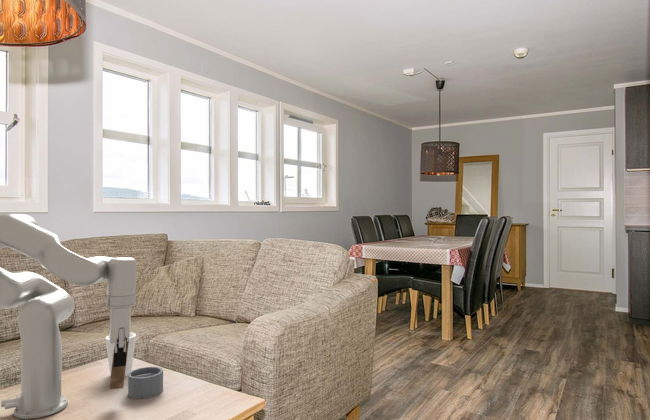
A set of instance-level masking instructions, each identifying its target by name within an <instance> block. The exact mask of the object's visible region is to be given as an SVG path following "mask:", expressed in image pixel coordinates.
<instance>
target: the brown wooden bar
mask: <svg viewBox="0 0 650 420" xmlns="http://www.w3.org/2000/svg"><path fill="white" fill-rule="evenodd" d="M117 341H119V340H117ZM128 344H129V341H128V342H126V361H127V353H128ZM117 345H119V344H117ZM114 353H115V345H114ZM114 353H113V361H112V369H111V374H110V379H109V384H108V385H109V388H108V389H109V390H116V389H119V390H120V389H124V384H125V377H126V376H125V369H126V365H125V366H120V367H114V366H113V365H114Z"/></svg>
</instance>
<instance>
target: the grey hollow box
mask: <svg viewBox="0 0 650 420" xmlns="http://www.w3.org/2000/svg"><path fill="white" fill-rule="evenodd" d="M156 374H157V373H156V372H155V373H149V374H143V375H136V376H133V377H149V376H153V375H156Z"/></svg>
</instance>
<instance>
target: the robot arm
mask: <svg viewBox="0 0 650 420" xmlns="http://www.w3.org/2000/svg"><path fill="white" fill-rule="evenodd" d="M5 248H8V249H10V250H13V251H15V252H17V253H19V254H22V256H26V257H28V258H30V259H32V260H34V261H36V262H37V263H39V265H40V266H41V267H42V268H44V269H45V270H46V271H48V272H49V273H50V274H52V275H54V276H56V277H58V278H60V279H61V280H62V279H63V280H64V281H66V282H68V283H71V284H73V285H77V286H80V287H91V286H93V285H95V284H98V283H101V282H105V281H107V285H106V286H107V287H106V289H107V290H106V293H107V294H106V307H107V308H109V309H110V311H109V329H108V330H109V332H108V333H109V335H108V336H109V340H110V343H111V344H112V343H113V342H115V353H114V351H113V353H114V365H113V366H114V367H120V366H125V365H126V342H128V341H129V335H130V333H131V322H132V321H131V317H132V316H131V315H132V307H135V306H136V305H137V304H136V301H137V300H136V298H137V297H136V296H137V269H138V268H137V266H138V265H137V264H138V263H137V260H136V259H135V258H134V257H129V256H128V257H127V256H125V257H122V256H121V257H110V256H102V255H97V256H91V257H84V256H82V255H79V254H77V253H75V252H73V251H71V250H69V249H67V248H66V247H64V246H63V245H62V244H61V242H60V240H59V237H58V235H57V234H56V233H53V232H51V231H49V230H47V229H44V228H42V227H40V226H38V223H37V221H36V220H35V219H34V218H33V217H32V216H30V215H28V214H26V213H25V214H24V213H1V214H0V250H2V249H5ZM19 306H21V307H20V309H19V311H18V315H17V326H18V329H19V330H18V331H19V337H20V363H21V364H20V372H21V373H20V374H21V375H20V395H19V396H18V395H17V396H15V398H7V399H2V400H1V402H0V407H1V408H4V409H5V410H8V409H9V410H10V409H13V408H14V410H13V416H14V417H15V418H17V419H23V420H24V419H25V420H31V419H38V418H43V417H47V416H50V415H54V414H56V413H58V412H61V411H62V410H63V409H65V408H66V407H67V406H68V404H69V403H68V400H69V399H68V398H67V397H66V396H62V364H63V363H62V361H63V360H62V359H63V358H62V357H63V355H62V354H63V353H62V352H63V351H62V349H63V348H62V347H63V346H62V344H63V343H62V335H61V332H60V327H59V324H60V323H62V322H64V321H65V320H67V319H69V318H70V317H71V316H72V314H73V313H74V309H75V301H74V299H73V296H71V295H70V294H69V293H68V292H67V291H65V290H64V289H63V288H62V287H60V286H58V285H56V284H54V283H53V282H51V281H49V280H48V279H46V278H45V277H43V276H42V275H40V274H39V273H35V272H33V271H27V270H24V271H23V270H22V271H15V272H10V271H8V270H6V269H4V268H2V267H1V266H0V309H6V310H8V309H12V308H13V309H14V308H16V307H19ZM117 340H119V341H117ZM117 344H119V345H117Z"/></svg>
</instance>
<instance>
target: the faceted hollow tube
mask: <svg viewBox="0 0 650 420" xmlns="http://www.w3.org/2000/svg"><path fill="white" fill-rule="evenodd" d="M155 372H156V373H157V374H156V375H153V376H149V377H133V376H136V375H143V374H149V373H155ZM163 391H164V370H163V368H162V367H159V366H145V367H139V368H136V369H132V370H131V372H130V373H128V376H127V396H128V398H132V399H133V400H134V399H135V400H136V399H137V400H138V399H140V400H142V399H149V398H152V397H156V396H158V395H160V394H161V393H162V392H163Z"/></svg>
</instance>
